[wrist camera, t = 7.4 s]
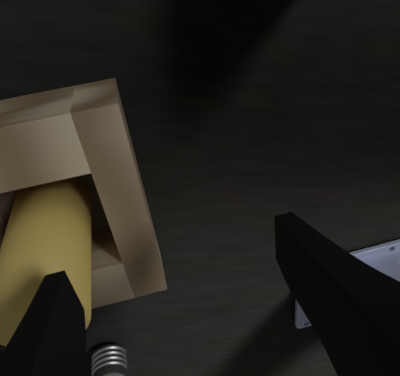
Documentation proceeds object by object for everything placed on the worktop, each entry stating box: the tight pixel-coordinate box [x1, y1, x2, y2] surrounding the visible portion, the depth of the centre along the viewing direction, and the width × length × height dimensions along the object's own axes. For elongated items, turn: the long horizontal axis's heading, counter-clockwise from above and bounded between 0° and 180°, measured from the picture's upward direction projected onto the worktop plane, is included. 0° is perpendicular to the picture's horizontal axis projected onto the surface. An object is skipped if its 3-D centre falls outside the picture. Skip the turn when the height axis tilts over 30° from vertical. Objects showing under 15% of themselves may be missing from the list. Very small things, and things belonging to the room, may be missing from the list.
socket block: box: [0, 78, 167, 309], centre depth 20 cm, size 12×12×4 cm
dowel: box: [0, 177, 92, 347], centre depth 18 cm, size 4×4×8 cm
